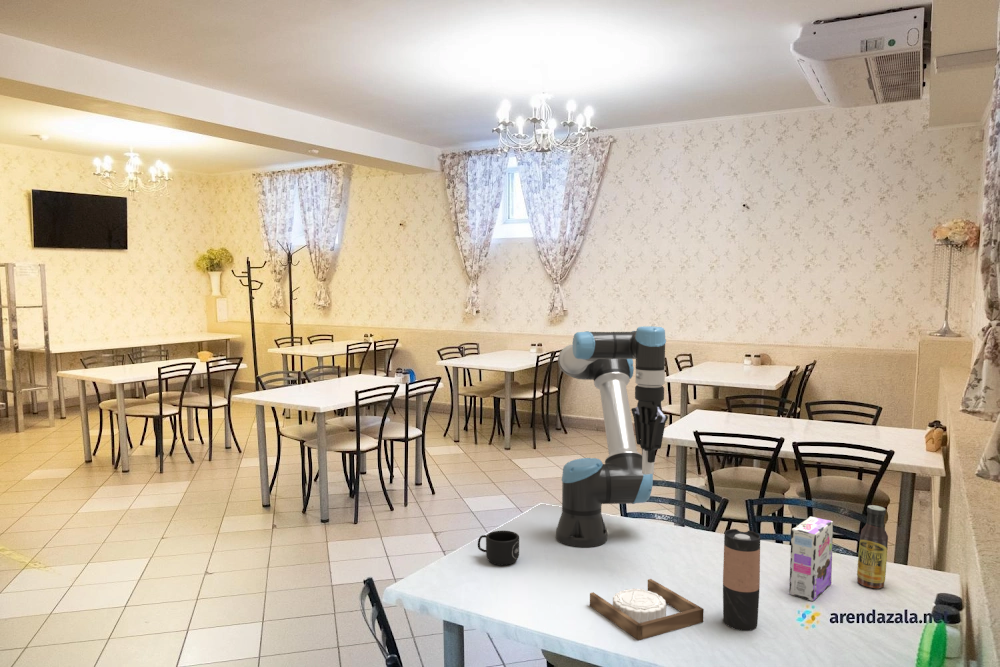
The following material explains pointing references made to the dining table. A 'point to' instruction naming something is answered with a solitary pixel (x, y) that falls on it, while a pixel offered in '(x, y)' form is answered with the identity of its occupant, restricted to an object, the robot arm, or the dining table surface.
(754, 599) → the travel mug
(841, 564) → the dining table surface
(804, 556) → the candy box
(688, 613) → the wooden u-shaped frame
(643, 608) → the mooncake
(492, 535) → the mug
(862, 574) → the sauce bottle
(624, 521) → the dining table surface
